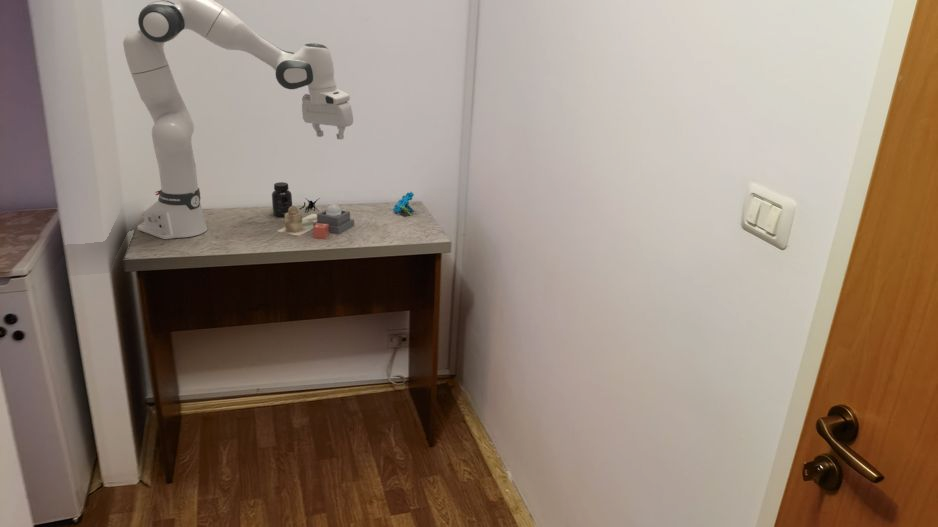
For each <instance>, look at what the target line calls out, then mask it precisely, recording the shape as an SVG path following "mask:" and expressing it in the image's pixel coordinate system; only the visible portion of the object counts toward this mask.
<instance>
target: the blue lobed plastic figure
mask: <svg viewBox="0 0 938 527" xmlns="http://www.w3.org/2000/svg"><path fill="white" fill-rule="evenodd" d="M414 194H415V193H414V192H412V191H410V192H407V193H405V194H404V195H403V196H401V199H399V200H398V201H397V203H395V205H394V206H393V209H392V210H393V212H394V213H395V214H397V213H400V212H401V210H402V211H403V213H406V214H408V216H410V217H411V216H412V214H411V213H412V212H414V209H413V208H412V207H411V206H410V205H409V204H410V202H409V201H412V200H413V197H414V196H415V195H414Z"/></svg>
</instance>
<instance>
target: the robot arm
mask: <svg viewBox="0 0 938 527" xmlns="http://www.w3.org/2000/svg"><path fill="white" fill-rule="evenodd" d="M137 20H138V21H137V22H138V27H139V30H135V31H133V32H130V33H129V34H127V35H126V36H125V37H124V39H123V42H122V44H123V52H124V55H125V59H126V63H127V66H128V69H129V72H130V74H131V78H132V80H133V82H134V84H135V88H136V89H137V92H138V95H139V97H140V99H141V101H142V102H143V104H144V106H145V107H146V109H147V111H148V112H149V114H150V117H151V118H152V121H153V123H154V124H153V126H152V127H151V128H152V129H151V137H152V143H153V149H154V154H155V158H156V160H157V161H156V162H157V165H158V171H159V180H160V188H161V189H160V190H158V191H155V192H154V193H155V196H158V199H157V201H156V202H155V203H153V204H152V205H151V206H149V207H148V208H147V209H146V210H145V211H144V215H143V217H144V218H143V220H144V221H143V222H142V223H139V224H138V226H137V227H136V228H137V230H138V231H140V232H142V233H143V232H144V233H145V234H148V235H151V236H154V237H156V238H160V239H162V240H170V239H176V238H178V239H179V238H189V237H195V236H199V235H202V234H204V233H205V232H206V231H208V227H207V222H206V219H205V217H204V214H203V208H202V204H201V191H200V187H199V186H198V185H199V184H198V176H197V175H198V174H197V167H196V166H197V164H196V162H195V157H194V151H193V144H192V137H193V133H194V128H195V126H194V123H193V119H192V117H191V115H190V112H189V109H188V108H187V106H186V103H185V102H184V100H183V97H182V95H181V93H180V91H179V89H178V87H177V84H176V81H175V79H174V75H173V73H172V71H171V67H170V65H169V62H168V59H167V57H166V53H165V50H164V45H165V43H168V42H170V41H172V40H174V39H175V38H176V37H178V36H179V34H180V33H181V32H182V31H183V30H190V31H192V32H195V33H196V34H198V35H199V36H201V37H203V38H204V39H205V40H207V41H209V42H210V43H211V44H214V45H216V46H218V47H221V48H222V49H225V50H228V51H229V50H230V51H242V52H245V53H248V54H250V55H252V56H254V57H255V58H256V59H259V61H261V62H264V63H265V64H266V65H268V66H270V67H271V68H272V69H273V70H274V72H275V78H276V81H277V83H278V84H279V85H280V86H281V87H282V88H284V89H288V90H297V89H299V88H303V87H306V86H307V87H308V93H305V94H304V95H303V96H302V98H301V100H302V103H301V113H302V115H301V116H302V120H303V121H304V123H305V124H312V128H313V129H314V131H315V132H316V136H317V137H318V138H319V137H320V138H322V137H324V136H325V135H324V130H322V128H321V127H320V125H324V126H333V127H336V128H337V130H338V132H337V133H336V134H335V136H336V139H337V140H344V138H345V136H344V132H345V130H346V128H348V127H350V126H352V125H353V123H354V115H353V110H352V105H351V103H350V102H349V101H350V99H351V97H350V94H349V93H348V92H345V91H343V90H342V89H340V88H339V87H338V88H337V82H336V81H335V69H334V63H333V59H332V58H333V57H332V55H331V54H332V53H331V52H330V49H329V48H328V47H327V46H325V45H324V44H320V43H306V44H304V45H303V46H302V47H301V48H300V49H298V50H297V51H296V52H294V51H293V52H292V51H286V50H283V49H281V48H279V47H277V46H276V45H274V44H273V43H271V42H270V41H269V40H266V39H265V38H263V37H262V36H260V35H259V34H257V33H256V32H254V31H253V29H251V27H249V26H248V25H247V24H246V23H245V22H244V21H243V20H242V19H240V18H239V17H238V16H237V15H236V14H235V13H233V11H231V10H230V9H228V8H227V7H225V6H224V5H222V4H220V3H218V2H217V1H215V0H179V1H178V2H177V3H174V2H172V1H169V0H155V1H152V2H150V3H149V4H147V5H146V6H145V7H143V8H142V9H141V11H140V12H139V15H138V18H137Z"/></svg>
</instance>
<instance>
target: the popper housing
mask: <svg viewBox="0 0 938 527" xmlns="http://www.w3.org/2000/svg"><path fill="white" fill-rule="evenodd" d="M326 210H327V209H325V210H323V211H320V212H318V213H317V214H316V215H317V221H316V222H314V223H313V227H314V226H315V225H316V223H322V224H329V234H335V235H340V234H342V233H344V232H346V231H347V230H349V229H351V228H353V227H354V226H355V219H353V218H351V211H350V210H349V211H348V210H344V209H340V210H341V215H339V216H337V217H334V216H329V215H326Z"/></svg>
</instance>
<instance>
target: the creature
mask: <svg viewBox="0 0 938 527" xmlns="http://www.w3.org/2000/svg"><path fill="white" fill-rule="evenodd" d="M320 199H321V198H320V197H319V198H318V199H316V200H315V201H313V200H309V199H308V198H306V200H307V203H308V205H307V206H306V202H305V201H304V202H303V203H304V204H303V206H302V207H300V208H299V210H301V209H304V208H305V210H304V213H307V214H308V212H309V211H310V210H313V209H314V210H313V211H314V212H316V211H318V212H320V210H319V208H317V207H316V205H315V204H316V203H317V202H318V200H320ZM305 206H306V207H305Z"/></svg>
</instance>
